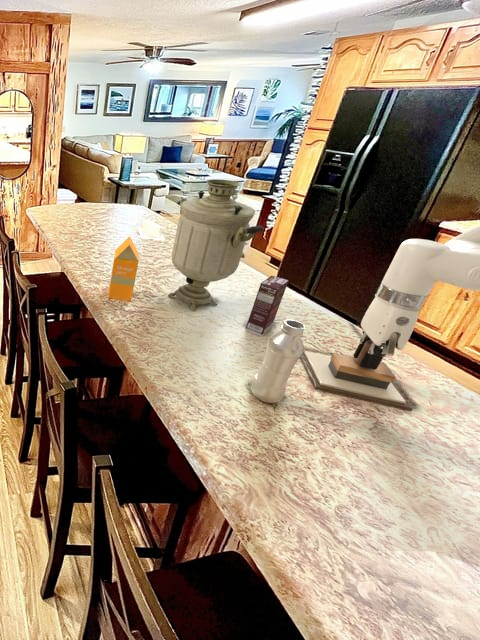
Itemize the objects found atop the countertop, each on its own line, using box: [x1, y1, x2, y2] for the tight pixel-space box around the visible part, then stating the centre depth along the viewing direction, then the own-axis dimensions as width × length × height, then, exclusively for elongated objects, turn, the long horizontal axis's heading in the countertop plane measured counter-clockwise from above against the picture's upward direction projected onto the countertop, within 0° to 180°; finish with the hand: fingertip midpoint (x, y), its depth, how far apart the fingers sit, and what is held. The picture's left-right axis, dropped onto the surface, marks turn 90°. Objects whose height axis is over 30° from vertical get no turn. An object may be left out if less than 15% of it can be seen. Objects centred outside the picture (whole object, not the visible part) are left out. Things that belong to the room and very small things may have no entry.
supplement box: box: [244, 275, 289, 337], centre depth 112 cm, size 9×5×16 cm, turn 130°
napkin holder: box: [138, 220, 166, 241], centre depth 191 cm, size 15×11×6 cm
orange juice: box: [107, 235, 140, 302], centre depth 130 cm, size 8×9×20 cm
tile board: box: [299, 350, 414, 412], centre depth 96 cm, size 18×16×1 cm
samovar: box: [167, 178, 265, 312], centre depth 122 cm, size 30×26×40 cm
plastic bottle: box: [250, 319, 306, 404], centre depth 85 cm, size 6×7×20 cm
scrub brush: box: [328, 340, 396, 389], centre depth 92 cm, size 10×5×10 cm, turn 67°
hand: (364, 362), depth 92 cm, fingers closed on scrub brush, 2 cm apart
